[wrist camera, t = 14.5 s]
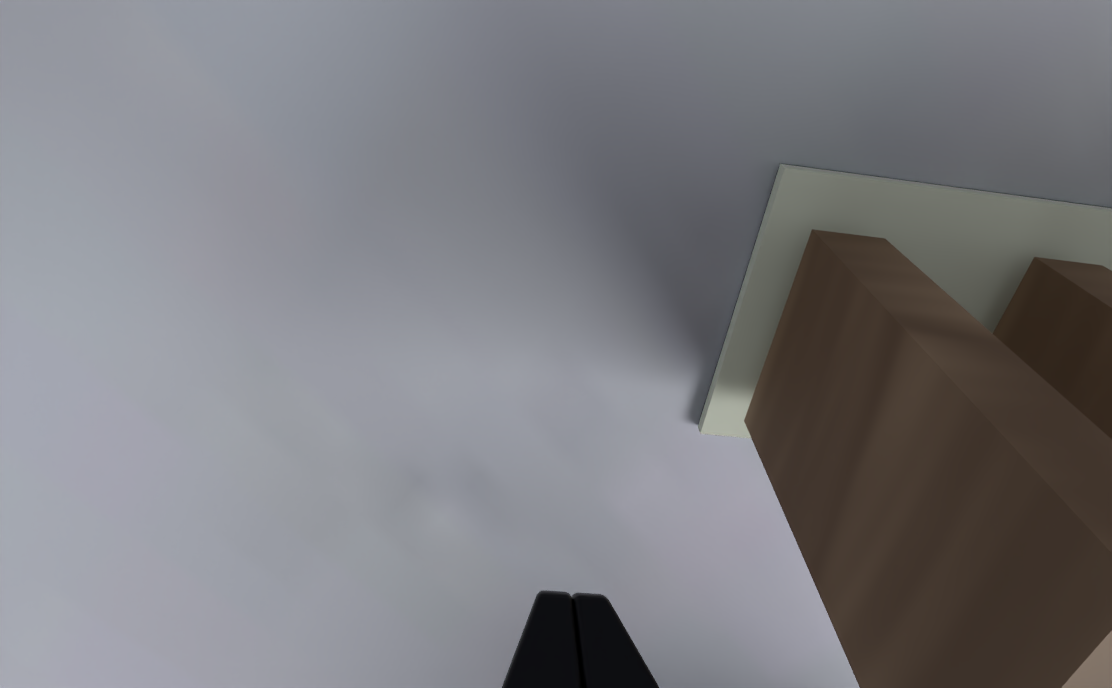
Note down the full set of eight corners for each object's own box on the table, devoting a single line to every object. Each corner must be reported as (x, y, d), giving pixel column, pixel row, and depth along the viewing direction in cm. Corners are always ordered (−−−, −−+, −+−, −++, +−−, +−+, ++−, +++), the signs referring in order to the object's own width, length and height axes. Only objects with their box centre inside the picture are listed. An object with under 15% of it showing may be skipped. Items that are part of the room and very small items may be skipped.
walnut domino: (743, 420, 17) (927, 841, 9) (812, 228, 14) (1146, 590, 7) (806, 426, 17) (1037, 844, 9) (884, 238, 14) (1294, 602, 7)
